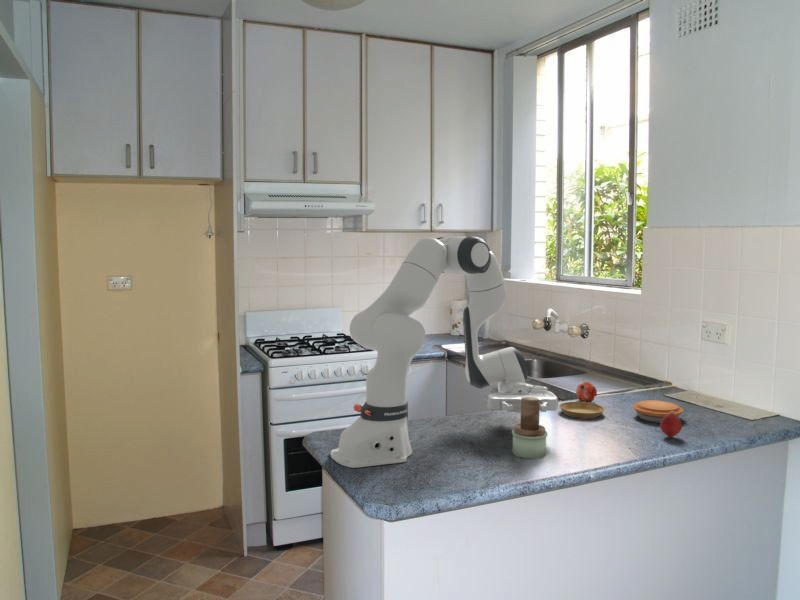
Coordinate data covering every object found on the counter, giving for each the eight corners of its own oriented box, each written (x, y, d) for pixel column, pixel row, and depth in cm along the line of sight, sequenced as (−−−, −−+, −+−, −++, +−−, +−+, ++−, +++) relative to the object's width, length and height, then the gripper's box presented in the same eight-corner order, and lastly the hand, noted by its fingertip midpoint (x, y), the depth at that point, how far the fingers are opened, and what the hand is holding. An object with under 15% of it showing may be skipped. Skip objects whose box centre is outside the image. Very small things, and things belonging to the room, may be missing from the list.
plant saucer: (572, 406, 236) (572, 399, 236) (612, 414, 226) (612, 406, 226) (550, 414, 226) (550, 407, 225) (591, 423, 216) (591, 415, 215)
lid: (528, 438, 180) (528, 404, 179) (507, 430, 187) (508, 397, 186) (551, 433, 184) (552, 400, 183) (531, 426, 191) (531, 394, 190)
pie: (674, 412, 228) (675, 398, 228) (689, 426, 213) (690, 410, 212) (627, 411, 230) (628, 397, 229) (639, 424, 214) (639, 409, 214)
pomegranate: (581, 404, 247) (566, 390, 243) (593, 388, 248) (577, 374, 243) (595, 411, 241) (580, 397, 236) (607, 394, 241) (591, 380, 237)
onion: (668, 441, 197) (669, 414, 196) (655, 435, 202) (656, 409, 202) (685, 439, 198) (686, 413, 198) (672, 434, 204) (673, 408, 203)
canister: (527, 461, 179) (527, 439, 179) (504, 451, 188) (504, 430, 187) (554, 455, 184) (554, 433, 184) (530, 445, 193) (531, 425, 192)
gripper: (483, 386, 202) (490, 397, 188) (551, 386, 202) (563, 398, 188) (483, 407, 203) (489, 419, 189) (551, 407, 203) (562, 420, 189)
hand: (526, 409), depth 189 cm, fingers open, 8 cm apart
